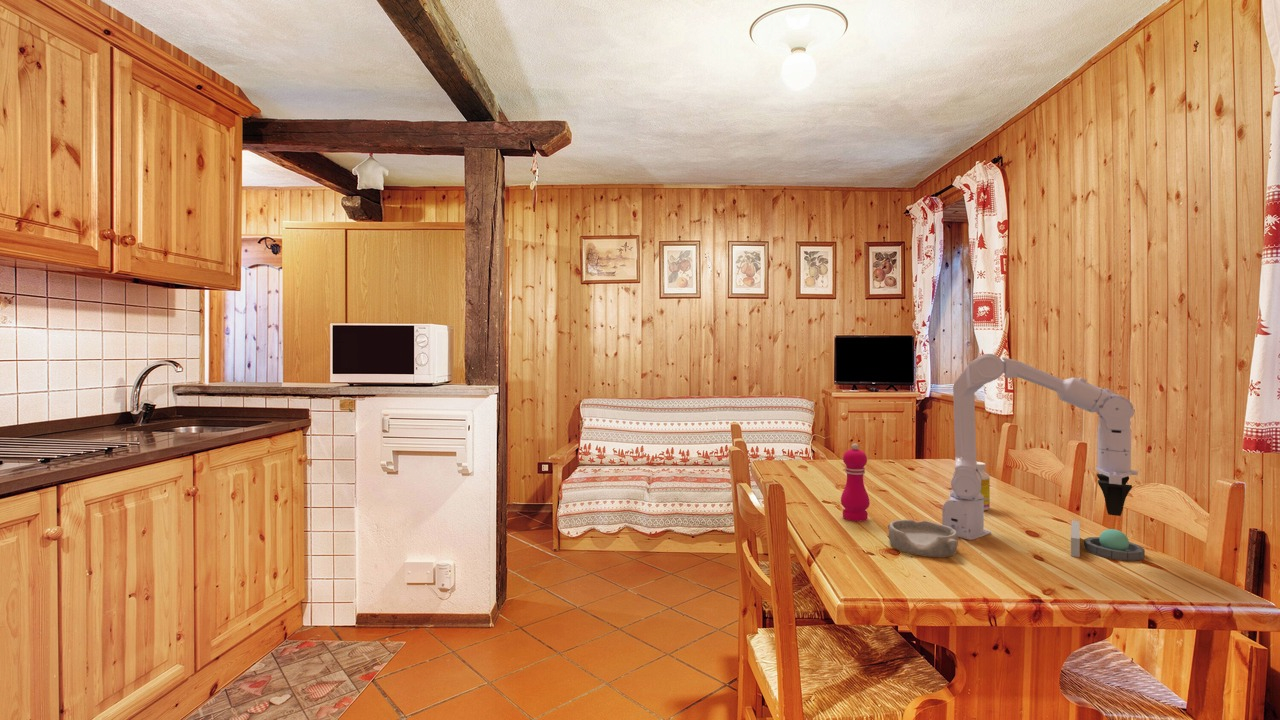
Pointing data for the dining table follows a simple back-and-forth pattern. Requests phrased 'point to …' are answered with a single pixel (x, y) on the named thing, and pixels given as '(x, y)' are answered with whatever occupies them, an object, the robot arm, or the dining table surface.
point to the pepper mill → (855, 486)
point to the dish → (923, 538)
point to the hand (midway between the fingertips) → (1113, 511)
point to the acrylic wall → (1075, 538)
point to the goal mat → (1130, 554)
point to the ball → (1114, 540)
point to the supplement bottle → (984, 485)
